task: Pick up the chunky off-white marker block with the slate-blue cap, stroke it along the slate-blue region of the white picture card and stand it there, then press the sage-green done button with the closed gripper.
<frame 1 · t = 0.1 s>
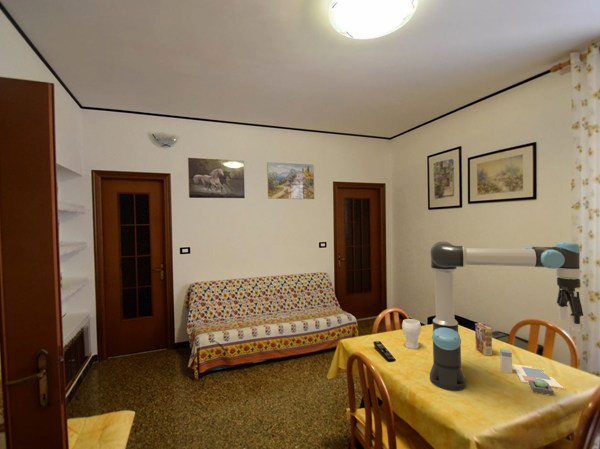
hand: (569, 325, 129), 28 cm above the table, fingers open, 13 cm apart
candy box: (483, 352, 167), on the table
done button: (540, 383, 129), point 3 cm above the table, slide at 0.0 cm
picture card: (537, 376, 140), on the table
cup: (411, 346, 177), on the table
button housing: (540, 389, 129), on the table
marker: (506, 370, 146), on the table
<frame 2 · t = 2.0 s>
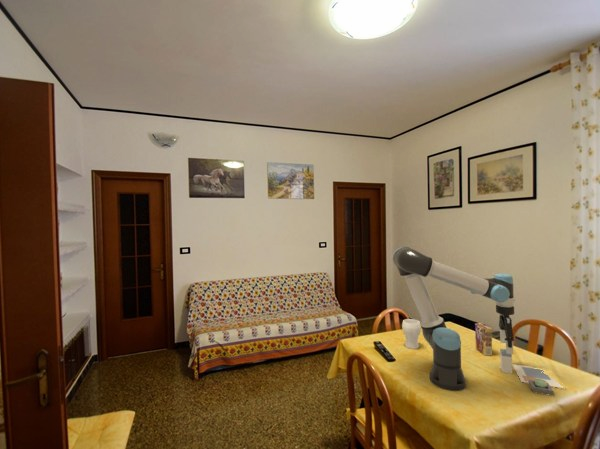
hand: (506, 347, 146), 11 cm above the table, fingers open, 13 cm apart
nothing on the table moved.
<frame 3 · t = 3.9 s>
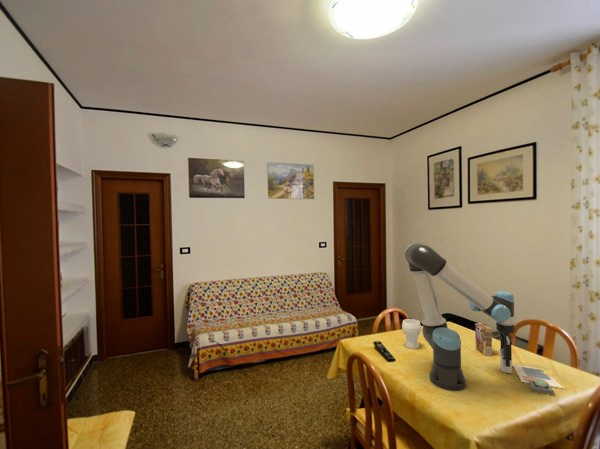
hand: (506, 370, 146), 0 cm above the table, fingers closed on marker, 4 cm apart
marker: (506, 370, 146), on the table, touching gripper
everything else where it was.
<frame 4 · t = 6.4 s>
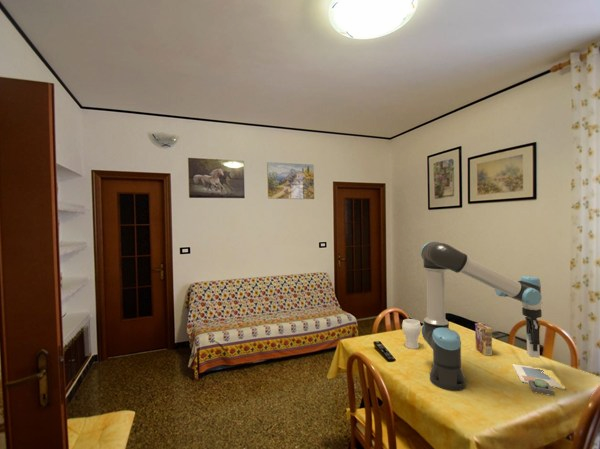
hand: (533, 354, 145), 8 cm above the table, fingers closed on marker, 4 cm apart
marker: (533, 355, 145), point 8 cm above the table, touching gripper
everything else where it was.
when the fingers open (1 cm above the table, at t = 8.9 s): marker stays where it is, resting on picture card.
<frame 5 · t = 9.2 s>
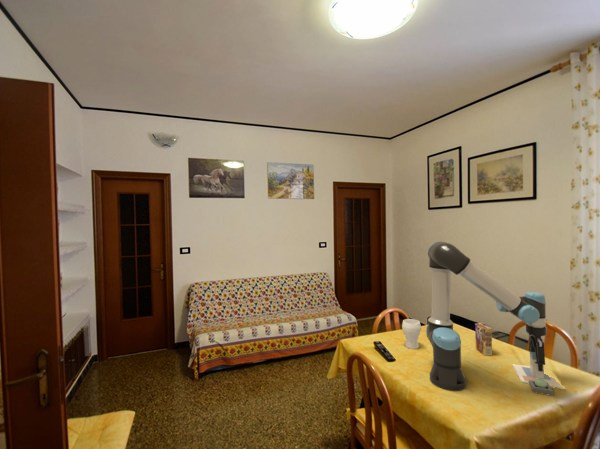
hand: (536, 372, 140), 2 cm above the table, fingers open, 8 cm apart
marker: (536, 375, 140), point 1 cm above the table, touching picture card
everything else where it was.
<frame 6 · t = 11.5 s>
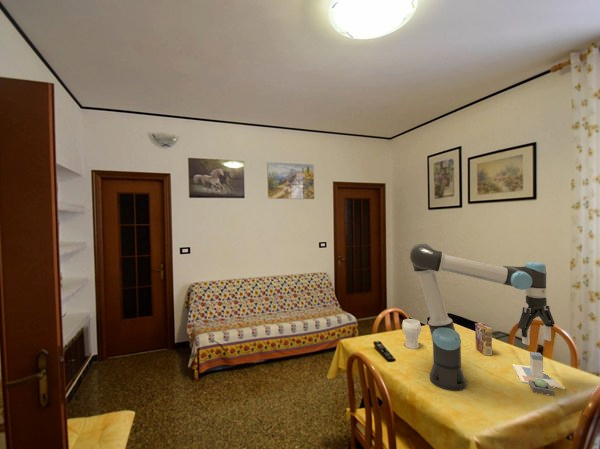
hand: (536, 342, 135), 18 cm above the table, fingers open, 13 cm apart
nothing on the table moved.
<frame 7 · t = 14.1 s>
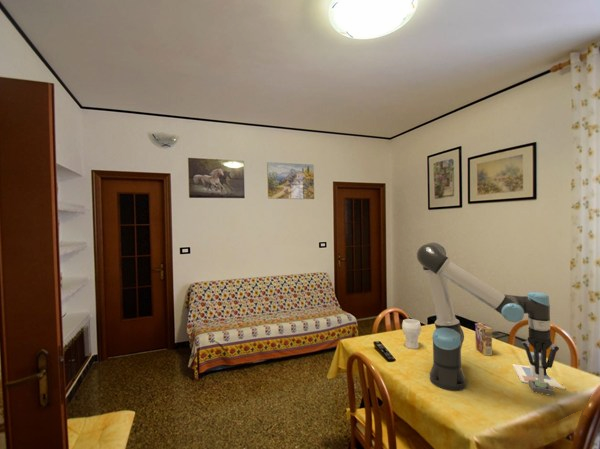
hand: (540, 381, 129), 4 cm above the table, fingers closed
done button: (540, 385, 129), point 2 cm above the table, slide at 0.6 cm, touching gripper
everything else where it was.
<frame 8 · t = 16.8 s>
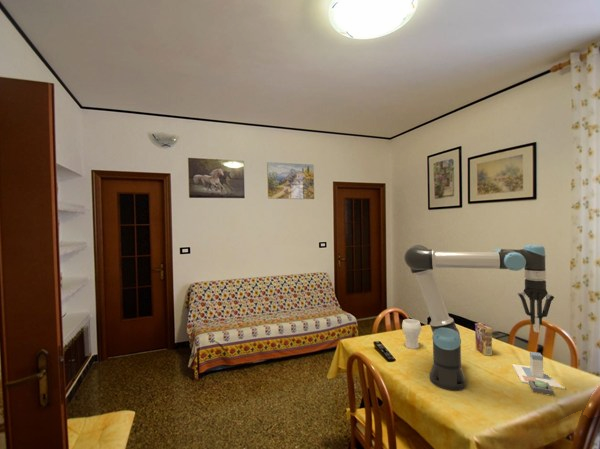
hand: (536, 331, 133), 24 cm above the table, fingers closed
done button: (540, 385, 129), point 2 cm above the table, slide at 0.7 cm
everything else where it was.
at the end: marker inside the target area (2.0 cm from its centre), point 0.7 cm above the table; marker tilted 0°; done button slide at 0.7 cm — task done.
